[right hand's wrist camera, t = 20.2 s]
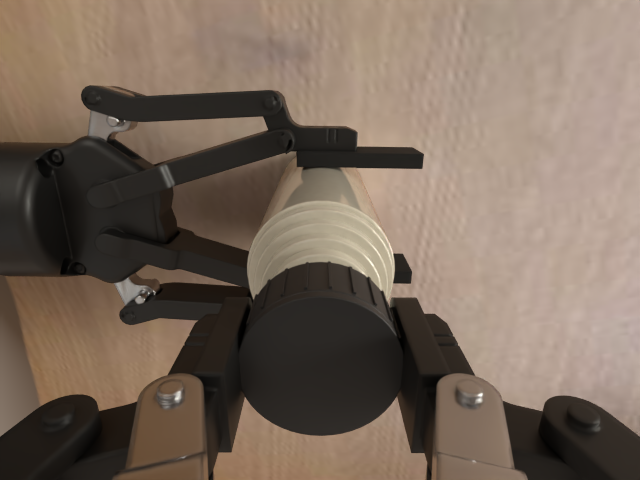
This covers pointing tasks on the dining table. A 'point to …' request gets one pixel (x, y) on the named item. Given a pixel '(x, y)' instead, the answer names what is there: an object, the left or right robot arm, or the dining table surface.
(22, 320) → the dining table surface
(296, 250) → the bottle
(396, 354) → the cap
